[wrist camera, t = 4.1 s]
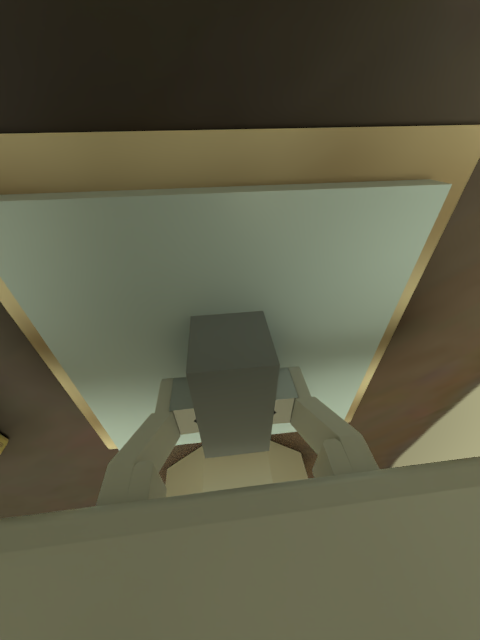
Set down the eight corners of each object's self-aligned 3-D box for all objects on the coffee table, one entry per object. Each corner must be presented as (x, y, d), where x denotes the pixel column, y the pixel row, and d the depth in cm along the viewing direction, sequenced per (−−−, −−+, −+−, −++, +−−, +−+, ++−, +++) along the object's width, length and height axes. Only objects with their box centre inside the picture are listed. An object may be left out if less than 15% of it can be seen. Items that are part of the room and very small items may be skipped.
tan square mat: (-104, 135, 7) (-122, 136, 7) (481, 124, 8) (495, 124, 8) (111, 442, 18) (108, 449, 18) (347, 416, 19) (349, 422, 19)
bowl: (158, 450, 19) (143, 552, 15) (306, 433, 20) (336, 524, 16) (182, 501, 27) (177, 579, 22) (290, 486, 28) (307, 560, 23)
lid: (-24, 195, 8) (-185, 242, 4) (430, 179, 9) (555, 207, 6) (124, 436, 17) (105, 507, 14) (335, 413, 18) (362, 473, 15)
